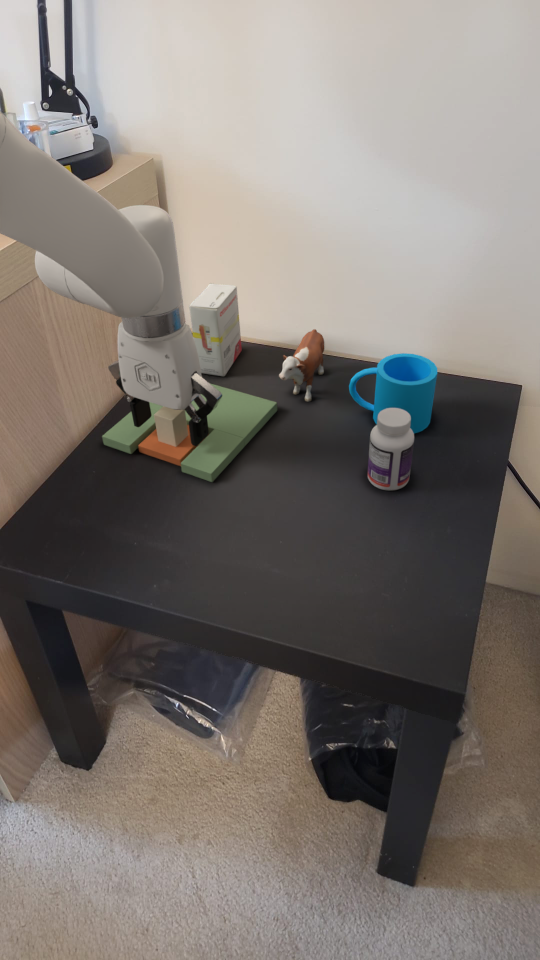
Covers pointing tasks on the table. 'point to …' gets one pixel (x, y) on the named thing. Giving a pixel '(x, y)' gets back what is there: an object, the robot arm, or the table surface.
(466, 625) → the table surface
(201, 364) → the ink box
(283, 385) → the table surface
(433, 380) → the mug
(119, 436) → the green mat
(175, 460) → the terracotta pad
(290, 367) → the bull figurine
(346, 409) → the table surface
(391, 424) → the pill bottle
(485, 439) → the table surface
